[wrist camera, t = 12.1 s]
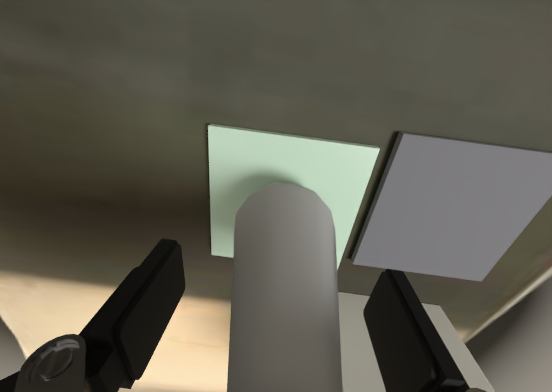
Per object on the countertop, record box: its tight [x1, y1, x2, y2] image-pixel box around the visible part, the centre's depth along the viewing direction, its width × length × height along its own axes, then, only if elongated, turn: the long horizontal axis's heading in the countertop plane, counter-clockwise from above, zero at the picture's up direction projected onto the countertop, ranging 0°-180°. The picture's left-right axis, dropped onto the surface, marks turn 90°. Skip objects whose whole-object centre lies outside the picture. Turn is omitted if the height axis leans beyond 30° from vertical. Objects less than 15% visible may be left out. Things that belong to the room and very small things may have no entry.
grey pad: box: [351, 131, 552, 281], centre depth 15 cm, size 10×10×1 cm
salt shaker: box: [227, 182, 343, 392], centre depth 9 cm, size 6×6×13 cm
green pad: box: [208, 124, 380, 269], centre depth 15 cm, size 10×10×1 cm
